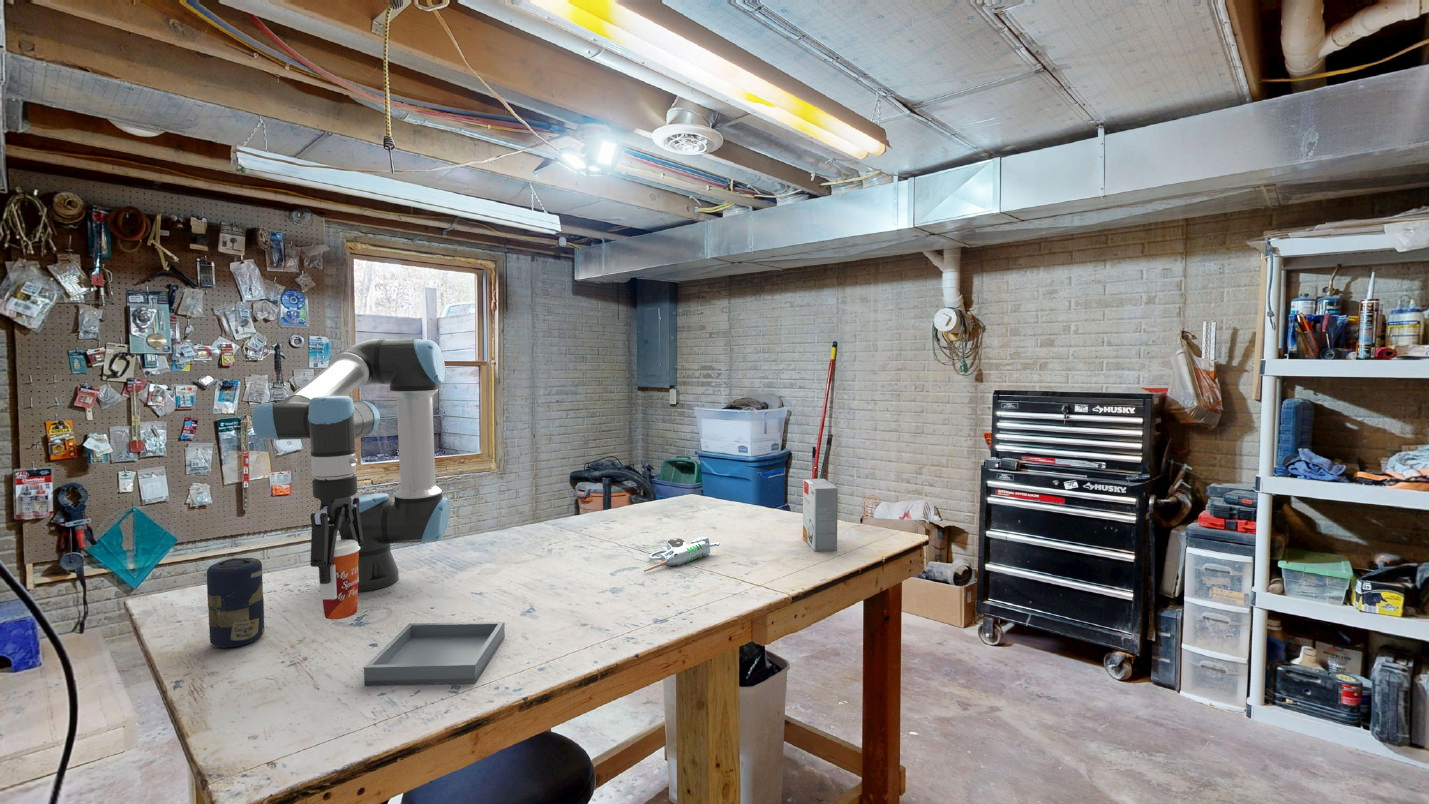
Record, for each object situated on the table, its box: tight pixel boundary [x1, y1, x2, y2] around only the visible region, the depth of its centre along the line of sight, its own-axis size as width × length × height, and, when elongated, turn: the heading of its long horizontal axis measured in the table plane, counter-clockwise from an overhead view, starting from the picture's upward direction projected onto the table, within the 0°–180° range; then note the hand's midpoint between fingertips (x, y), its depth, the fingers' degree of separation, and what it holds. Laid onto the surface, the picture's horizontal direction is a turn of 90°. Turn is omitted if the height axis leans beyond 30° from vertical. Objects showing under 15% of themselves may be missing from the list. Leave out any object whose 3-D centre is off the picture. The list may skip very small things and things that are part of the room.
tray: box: [363, 621, 506, 687], centre depth 131 cm, size 20×20×4 cm
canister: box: [206, 557, 265, 648], centre depth 139 cm, size 10×10×18 cm
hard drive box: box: [802, 478, 839, 552], centre depth 212 cm, size 16×8×20 cm, turn 6°
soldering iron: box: [643, 536, 720, 573], centre depth 197 cm, size 6×28×16 cm
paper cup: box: [321, 539, 360, 620], centre depth 130 cm, size 8×8×14 cm
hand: (340, 590), depth 130 cm, fingers closed on paper cup, 8 cm apart
